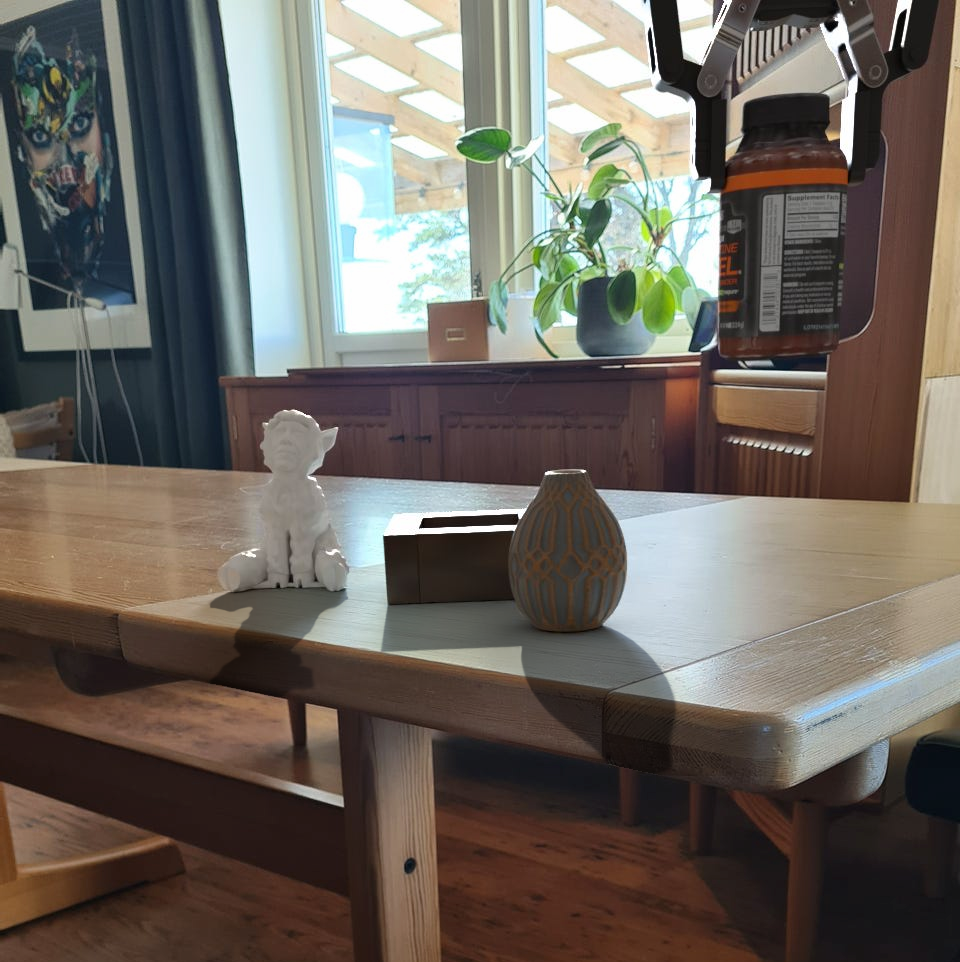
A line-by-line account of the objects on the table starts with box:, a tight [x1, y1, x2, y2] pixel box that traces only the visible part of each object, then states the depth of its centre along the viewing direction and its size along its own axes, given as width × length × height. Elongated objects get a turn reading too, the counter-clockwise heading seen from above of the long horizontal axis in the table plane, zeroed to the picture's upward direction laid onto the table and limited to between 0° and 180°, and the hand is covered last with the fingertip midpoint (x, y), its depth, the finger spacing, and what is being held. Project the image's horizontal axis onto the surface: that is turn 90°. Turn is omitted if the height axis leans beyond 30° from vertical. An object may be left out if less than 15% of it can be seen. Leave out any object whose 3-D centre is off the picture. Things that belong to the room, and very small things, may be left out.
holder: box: [382, 508, 526, 605], centre depth 89 cm, size 11×11×4 cm
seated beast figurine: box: [216, 409, 350, 593], centre depth 92 cm, size 10×9×12 cm
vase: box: [508, 469, 628, 633], centre depth 74 cm, size 7×7×9 cm
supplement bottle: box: [717, 92, 848, 362], centre depth 62 cm, size 6×6×11 cm
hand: (783, 187), depth 61 cm, fingers closed on supplement bottle, 6 cm apart
